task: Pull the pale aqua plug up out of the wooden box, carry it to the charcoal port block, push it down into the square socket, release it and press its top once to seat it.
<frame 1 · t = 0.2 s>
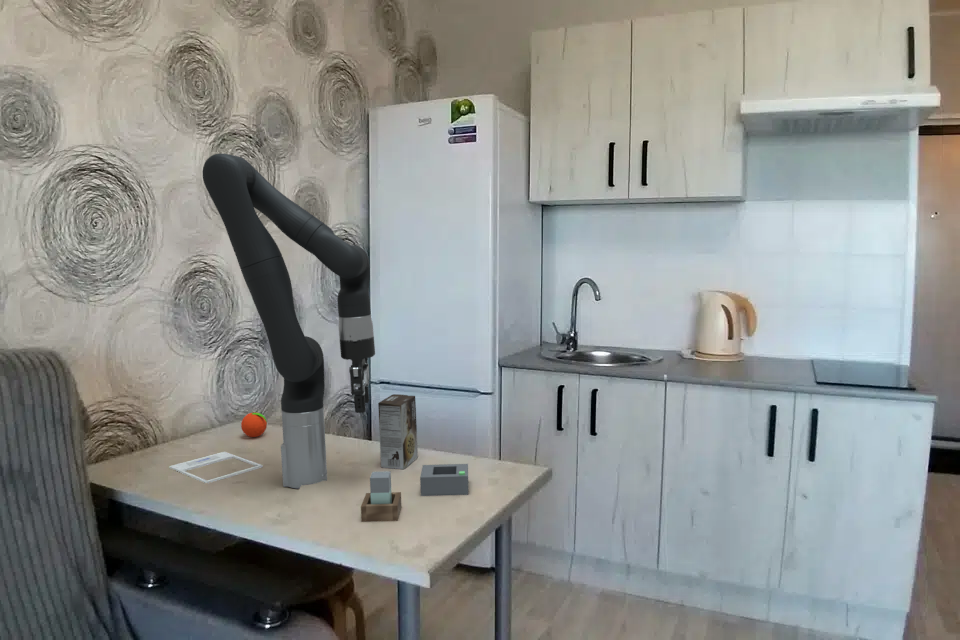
hand: (362, 407, 156), 17 cm above the table, tool pointing down, fingers open, 8 cm apart
plug: (382, 513, 137), point 1 cm above the table, touching wooden box
wooden box: (382, 518, 137), on the table
port: (445, 492, 150), on the table
coffee box: (399, 463, 171), on the table
clementine: (256, 437, 196), on the table
photo frame: (215, 470, 170), on the table
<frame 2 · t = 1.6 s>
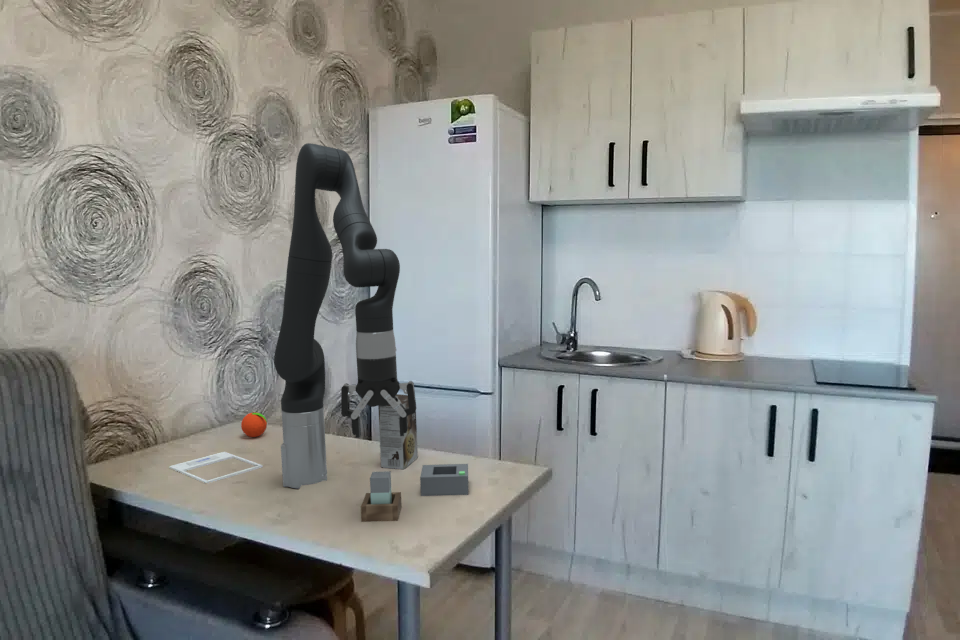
hand: (380, 435, 135), 17 cm above the table, tool pointing down, fingers open, 8 cm apart
nothing on the table moved.
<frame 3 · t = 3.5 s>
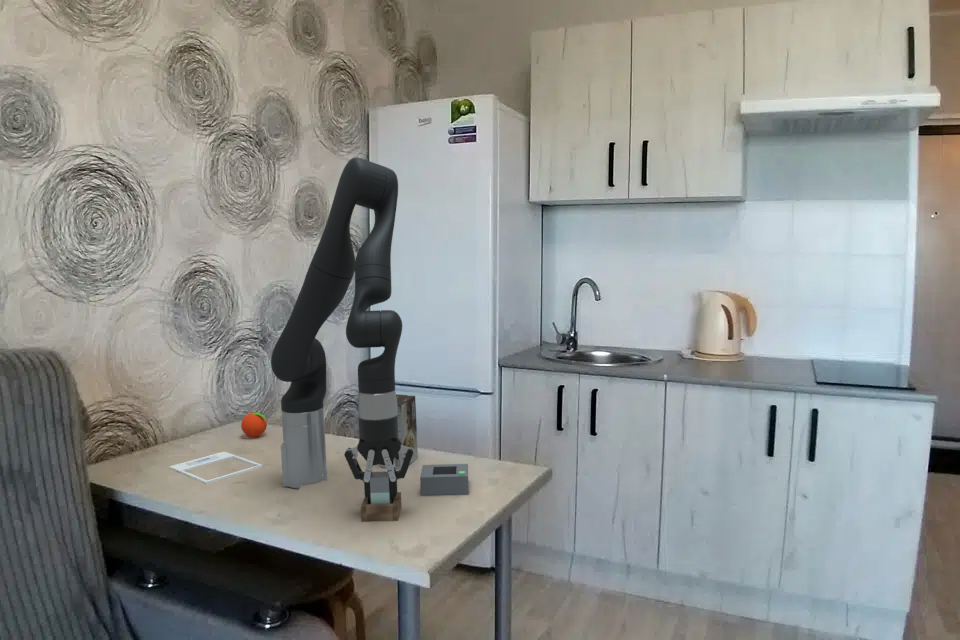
hand: (381, 498, 136), 4 cm above the table, tool pointing down, fingers closed on plug, 3 cm apart
plug: (382, 513, 137), point 1 cm above the table, touching gripper, wooden box
everything else where it was.
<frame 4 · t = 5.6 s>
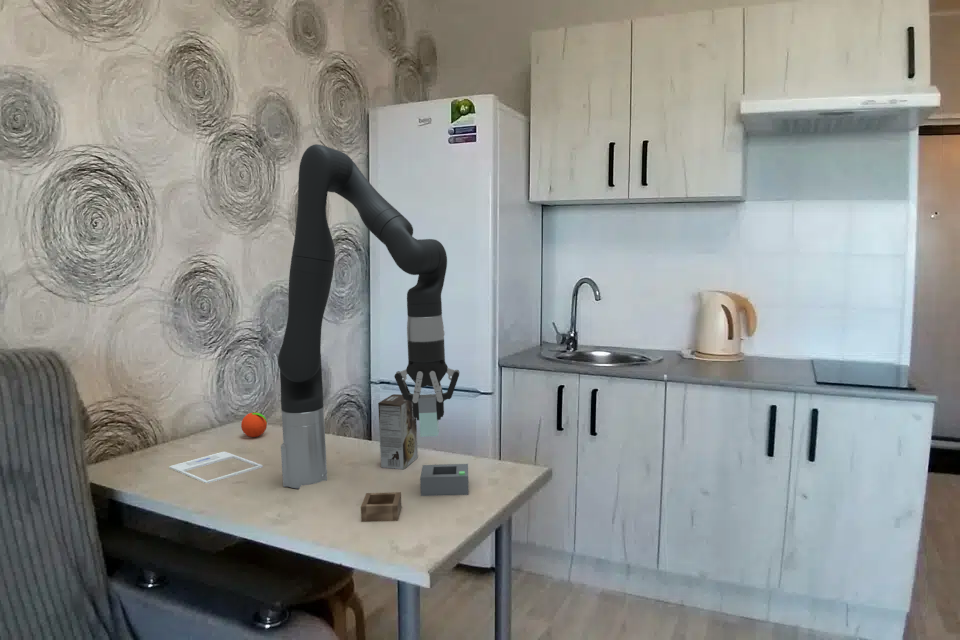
hand: (429, 418, 144), 17 cm above the table, tool pointing down, fingers closed on plug, 3 cm apart
plug: (429, 434, 144), point 14 cm above the table, touching gripper
everything else where it was.
when the fingers open (5 cm above the table, at t = 8.1 s): plug stays where it is, resting on port.
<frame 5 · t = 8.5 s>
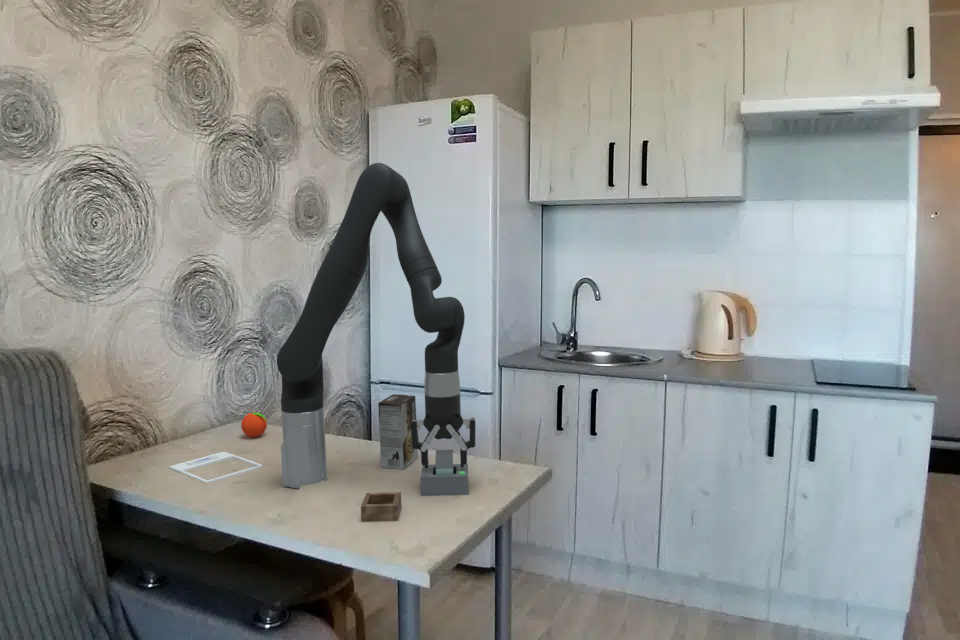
hand: (444, 466, 149), 6 cm above the table, tool pointing down, fingers open, 7 cm apart
plug: (445, 488, 150), point 1 cm above the table, touching port
everything else where it was.
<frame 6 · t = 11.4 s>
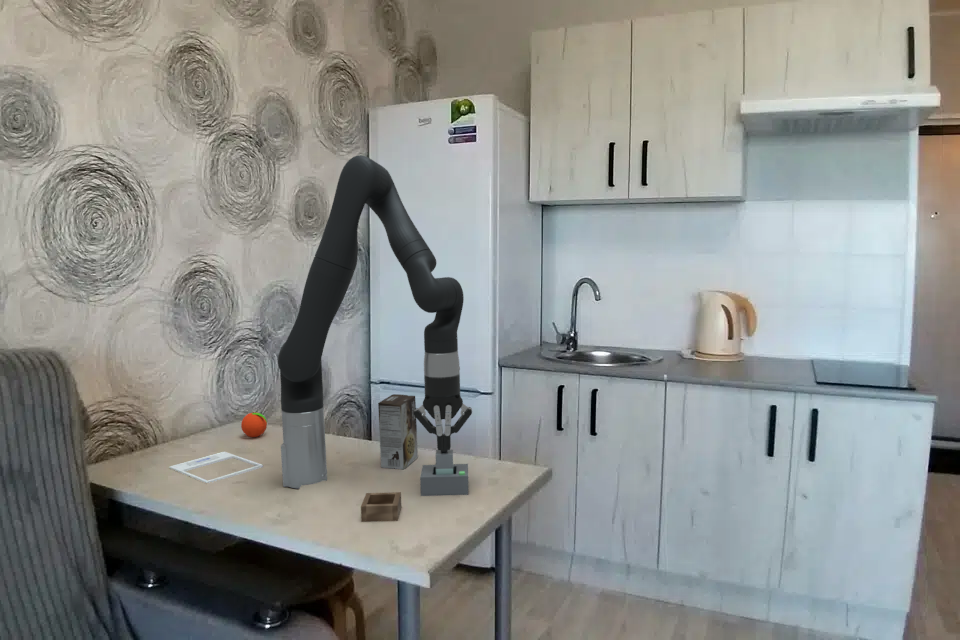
hand: (444, 451, 149), 9 cm above the table, tool pointing down, fingers closed
nothing on the table moved.
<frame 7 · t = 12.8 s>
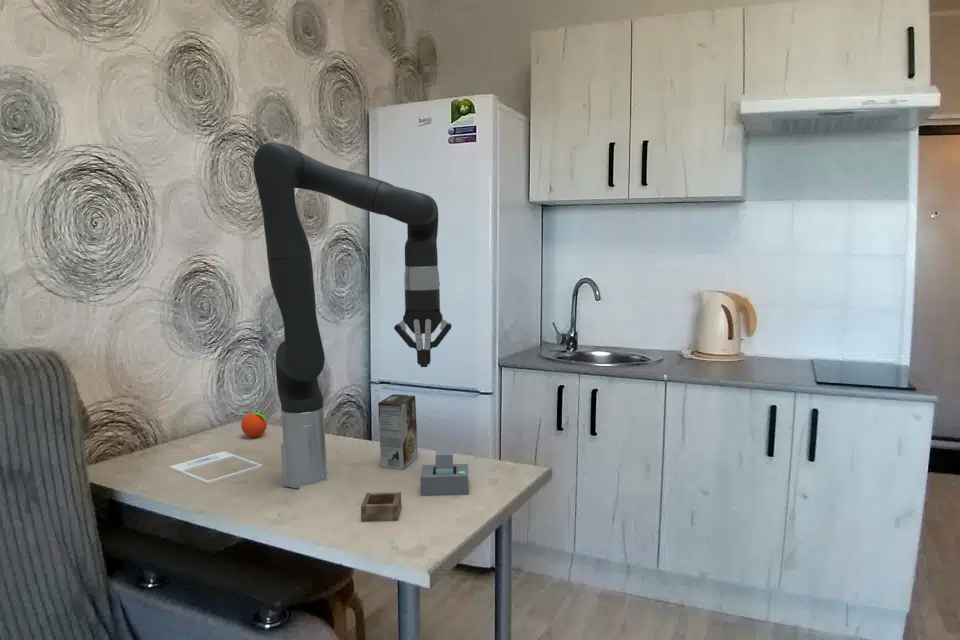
hand: (424, 366, 151), 27 cm above the table, tool pointing down, fingers closed
nothing on the table moved.
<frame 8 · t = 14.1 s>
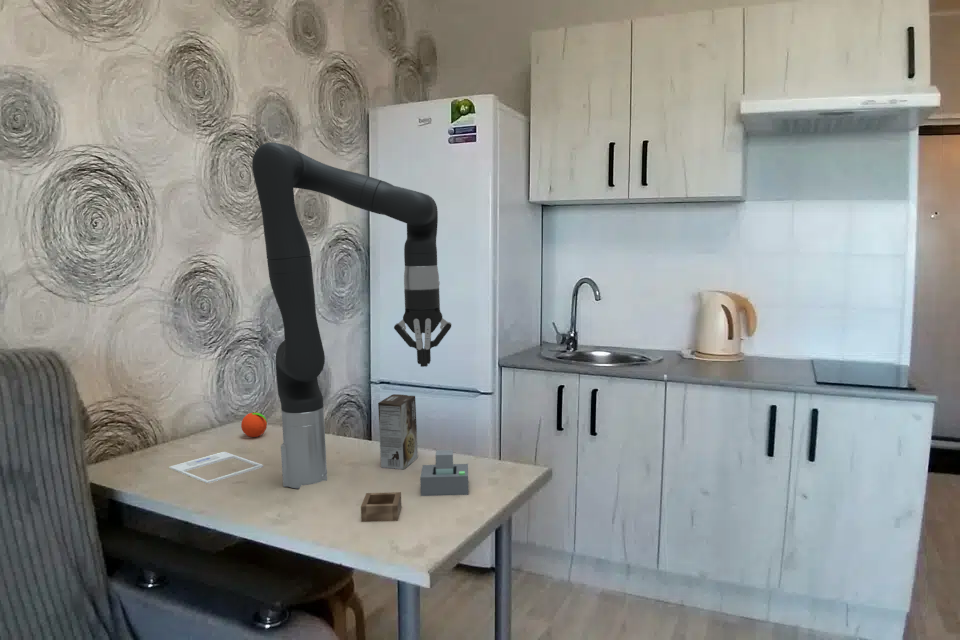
hand: (424, 365, 151), 27 cm above the table, tool pointing down, fingers closed
nothing on the table moved.
at the end: plug 0.0 cm off-centre on the port, point 1.0 cm above the port's base; plug tilted 0°; the gripper is holding nothing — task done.
